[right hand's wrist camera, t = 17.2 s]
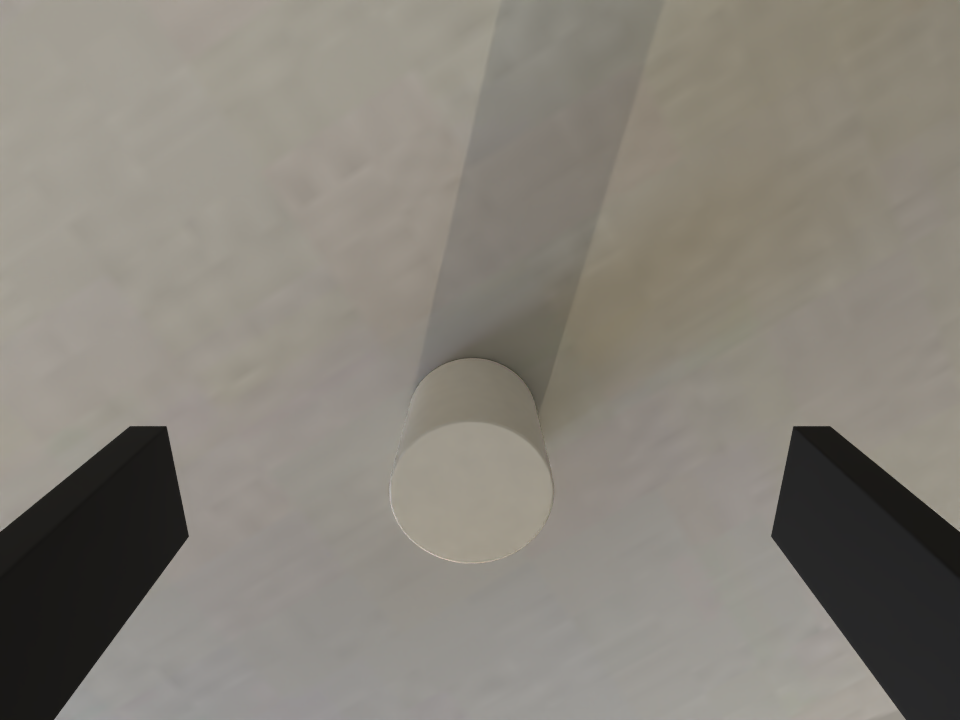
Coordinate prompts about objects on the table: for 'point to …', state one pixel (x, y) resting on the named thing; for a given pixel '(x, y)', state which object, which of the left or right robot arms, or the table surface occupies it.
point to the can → (471, 464)
